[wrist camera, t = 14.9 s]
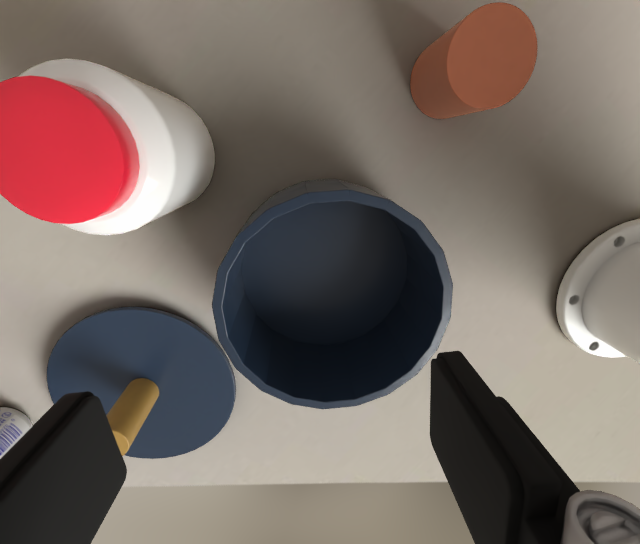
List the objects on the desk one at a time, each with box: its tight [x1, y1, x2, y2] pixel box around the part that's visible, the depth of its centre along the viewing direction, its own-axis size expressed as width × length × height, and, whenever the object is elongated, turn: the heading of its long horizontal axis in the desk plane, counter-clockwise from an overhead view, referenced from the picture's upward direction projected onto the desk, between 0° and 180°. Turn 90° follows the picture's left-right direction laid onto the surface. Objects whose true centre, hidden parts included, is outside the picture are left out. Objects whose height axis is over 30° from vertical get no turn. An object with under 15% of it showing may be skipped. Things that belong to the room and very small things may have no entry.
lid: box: [47, 307, 236, 459], centre depth 27 cm, size 15×15×7 cm
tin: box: [212, 179, 453, 409], centre depth 24 cm, size 14×14×8 cm
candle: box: [410, 3, 537, 119], centre depth 20 cm, size 5×5×6 cm
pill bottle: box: [0, 58, 215, 235], centre depth 18 cm, size 8×8×11 cm
